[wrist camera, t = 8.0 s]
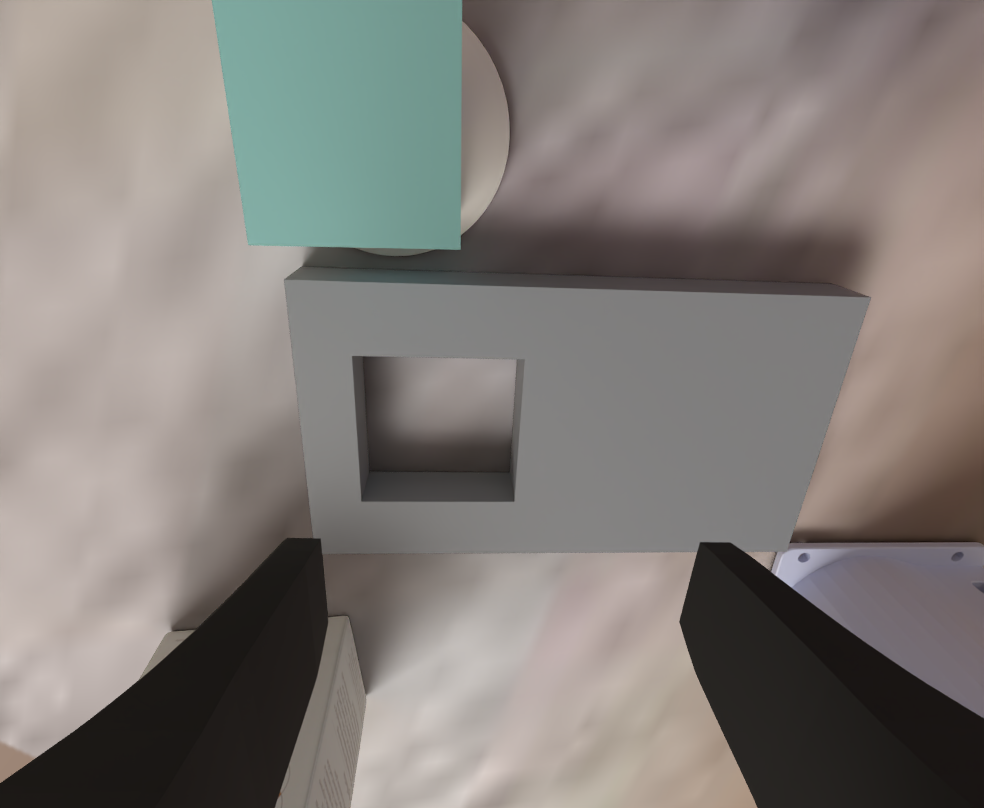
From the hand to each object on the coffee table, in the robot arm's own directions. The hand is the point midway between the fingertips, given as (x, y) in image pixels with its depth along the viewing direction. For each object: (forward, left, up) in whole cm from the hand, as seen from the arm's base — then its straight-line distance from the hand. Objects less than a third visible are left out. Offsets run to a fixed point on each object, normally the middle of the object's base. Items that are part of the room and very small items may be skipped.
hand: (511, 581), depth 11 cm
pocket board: (-3, +1, -10) cm, 11 cm away
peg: (+3, -8, -10) cm, 13 cm away
